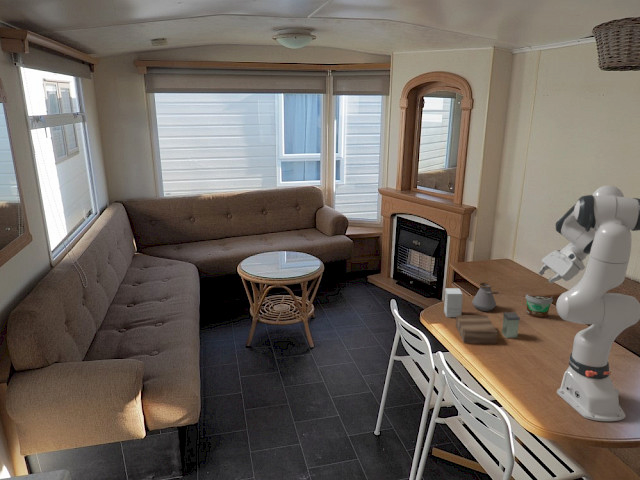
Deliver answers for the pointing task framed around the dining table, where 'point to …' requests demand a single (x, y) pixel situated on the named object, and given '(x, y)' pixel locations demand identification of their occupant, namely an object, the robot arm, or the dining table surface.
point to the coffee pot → (484, 297)
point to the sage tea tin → (510, 325)
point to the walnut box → (476, 329)
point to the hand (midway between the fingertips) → (544, 278)
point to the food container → (538, 306)
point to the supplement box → (453, 302)
